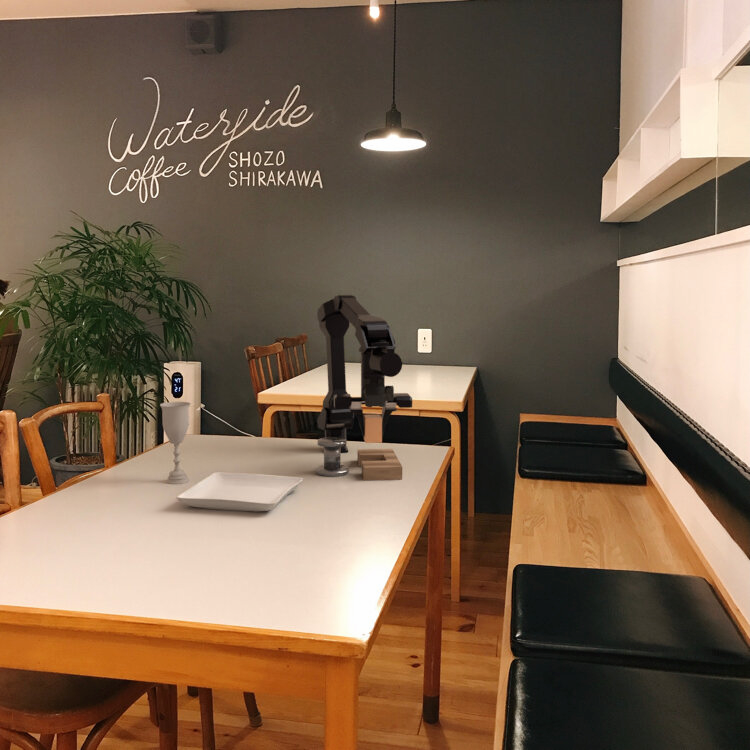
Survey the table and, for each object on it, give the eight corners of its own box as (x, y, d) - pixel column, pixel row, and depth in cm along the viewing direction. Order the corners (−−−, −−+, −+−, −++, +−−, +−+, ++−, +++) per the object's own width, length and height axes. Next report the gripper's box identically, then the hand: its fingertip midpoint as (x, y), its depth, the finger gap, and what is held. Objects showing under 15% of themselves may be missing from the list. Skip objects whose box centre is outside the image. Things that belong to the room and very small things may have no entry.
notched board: (357, 460, 210) (357, 449, 210) (392, 460, 211) (392, 448, 211) (363, 480, 190) (363, 467, 190) (402, 479, 191) (402, 466, 191)
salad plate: (274, 518, 162) (274, 501, 161) (174, 512, 166) (173, 495, 165) (305, 491, 182) (305, 476, 182) (215, 485, 186) (215, 471, 186)
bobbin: (315, 469, 201) (315, 437, 200) (347, 468, 202) (347, 436, 201) (316, 477, 193) (315, 443, 192) (349, 476, 194) (349, 443, 193)
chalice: (188, 485, 185) (186, 406, 183) (158, 485, 186) (155, 406, 183) (195, 477, 193) (193, 401, 191) (167, 477, 193) (164, 401, 191)
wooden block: (363, 438, 202) (363, 414, 201) (379, 438, 202) (379, 414, 201) (365, 442, 197) (365, 418, 196) (381, 442, 197) (382, 418, 197)
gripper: (335, 376, 189) (335, 443, 191) (415, 376, 191) (415, 441, 192) (333, 371, 200) (333, 433, 202) (409, 370, 202) (408, 432, 203)
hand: (372, 435), depth 200 cm, fingers closed on wooden block, 4 cm apart
